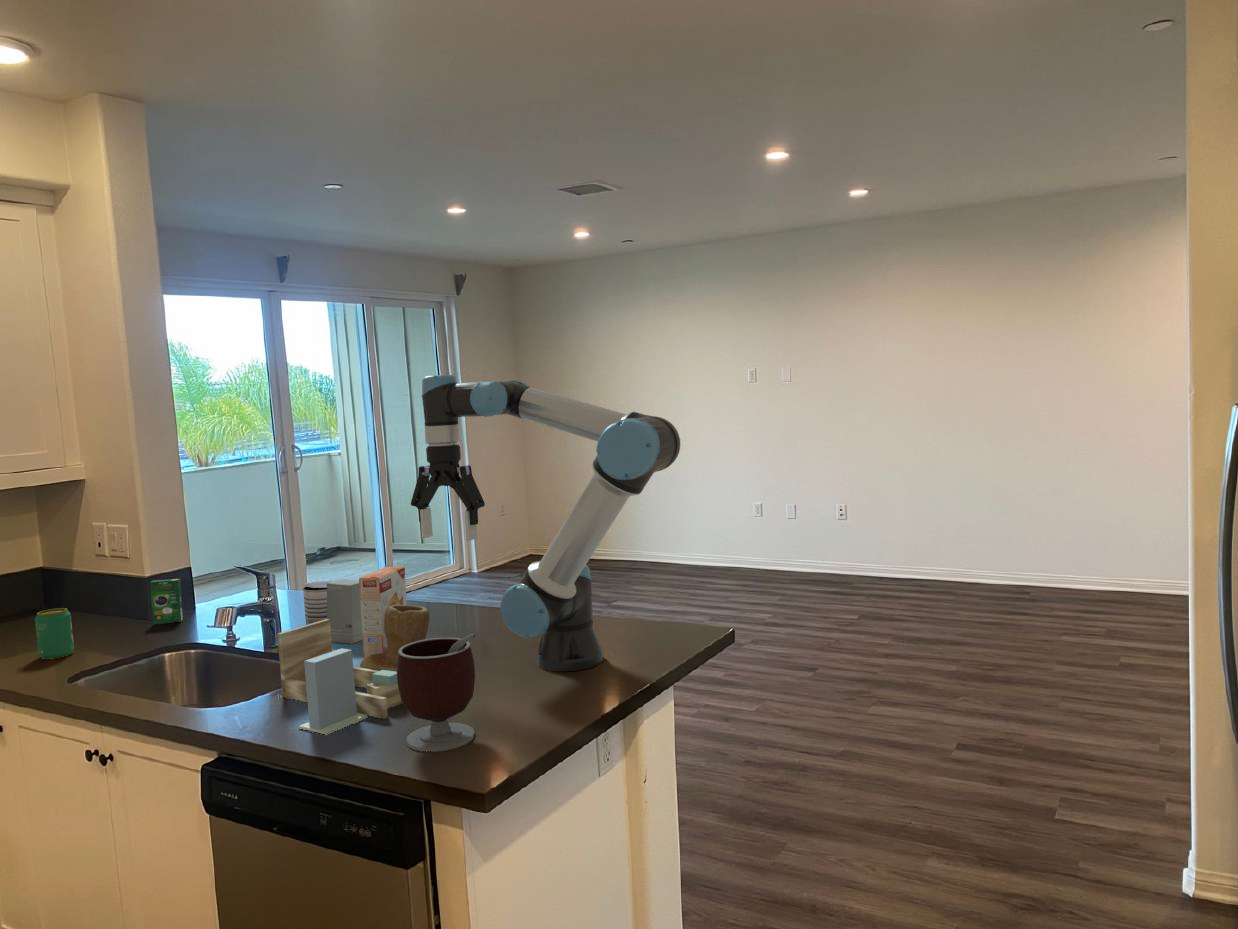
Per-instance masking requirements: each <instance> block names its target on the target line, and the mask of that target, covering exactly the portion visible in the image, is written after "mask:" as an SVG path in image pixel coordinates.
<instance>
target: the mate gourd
mask: <svg viewBox="0 0 1238 929" xmlns="http://www.w3.org/2000/svg"><path fill="white" fill-rule="evenodd" d="M475 638H476V633H471V634H468V635H467V636H465V637H463V638H460V637H433V638H427V639H426V638H425V640H420V641H416V642H412V643H409V644H407V645H404V646H403V647H401V648H400V649H399V651H398V653H399V655H398V661H397V683H398V689H399V693H400V697H401V700H402V706H403V707H404V708H406V710H407V711H408V712H409V713H410V715H412V717H414V718H416V719H420V720H421V719H422V720H426V721H431V724H429V725H426V726H423V727H419V728H418V729H414V730H413V731H412V732H410V733H409V734H408V735H407V737H406V741H405V742H406V746H407V747H408V748H409V749H411V748H412V749H411V750H413V749H414V750H413V751H416V752H417V750H418V752H423V751H424V752H425V751H426V752H425V753H430V751H431V753H434V752H444V751H449V750H453V749H457V748H460V747H462V746H464V745H467V744H468V743H470V742H471V741H472V740H473V739H474V738H475V730H474V727H472V726H471V725H468V724H466V723H465V724H464V723H460V722H448V719H450V718H452V717H454V716H456V715H459V714H460V713H462V712H463V711H465V710H466V708H467V707H468V704H470V701H471V700H472V699H473V697H474V696H473V695H474V691H475V683H476V682H475V680H476V669H475V668H476V667H475V661H474V656H473V651H472V648H471V642H469V640H471V639H475ZM428 751H429V752H428Z"/></svg>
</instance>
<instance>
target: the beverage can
mask: <svg viewBox="0 0 1238 929" xmlns="http://www.w3.org/2000/svg"><path fill="white" fill-rule="evenodd" d="M34 623H35V625H34V626H35V632H36V634H35V635H36V640H37V641H36V642H37V650H38V656H39V657H40V659H41V658H44V659H50V658H57V657H62V656H66V657H69V656H71V655H73V652H74V650H75V646H74V645H75V644H74V635H73V634H74V633H73V626H72V615H71V612H70V611H69V610H68V608H67V607H60V608H59V607H57V608H50V609H46V610H41V611H39V612H37V613H36V615H35V618H34ZM70 654H71V655H70ZM68 655H69V656H68Z"/></svg>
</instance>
